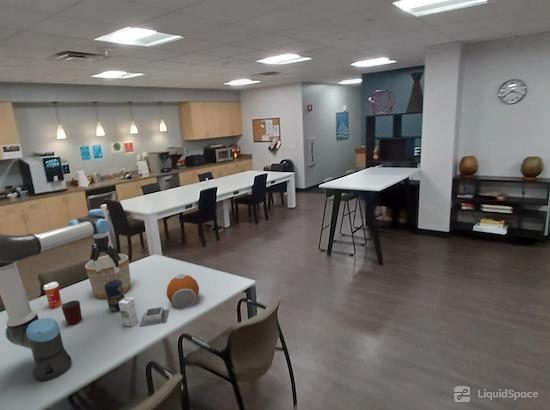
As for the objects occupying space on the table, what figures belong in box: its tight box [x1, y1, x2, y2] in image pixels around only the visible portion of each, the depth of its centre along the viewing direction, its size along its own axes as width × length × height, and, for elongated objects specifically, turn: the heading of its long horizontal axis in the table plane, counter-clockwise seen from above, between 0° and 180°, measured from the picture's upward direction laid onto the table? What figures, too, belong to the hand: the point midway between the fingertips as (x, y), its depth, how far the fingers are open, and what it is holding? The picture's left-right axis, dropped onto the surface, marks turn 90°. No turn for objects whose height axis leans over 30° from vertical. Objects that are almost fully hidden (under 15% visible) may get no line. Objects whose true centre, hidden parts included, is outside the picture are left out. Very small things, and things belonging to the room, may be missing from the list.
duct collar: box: [139, 306, 170, 328], centre depth 195 cm, size 14×14×4 cm
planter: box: [84, 253, 131, 299], centre depth 232 cm, size 26×26×22 cm
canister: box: [104, 280, 126, 312], centre depth 208 cm, size 10×10×18 cm
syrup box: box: [119, 297, 139, 328], centre depth 190 cm, size 6×6×14 cm
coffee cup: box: [43, 281, 62, 310], centre depth 218 cm, size 8×8×15 cm
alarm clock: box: [166, 273, 200, 308], centre depth 210 cm, size 19×18×17 cm
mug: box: [61, 300, 83, 326], centre depth 199 cm, size 12×9×11 cm
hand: (107, 271), depth 199 cm, fingers open, 13 cm apart
